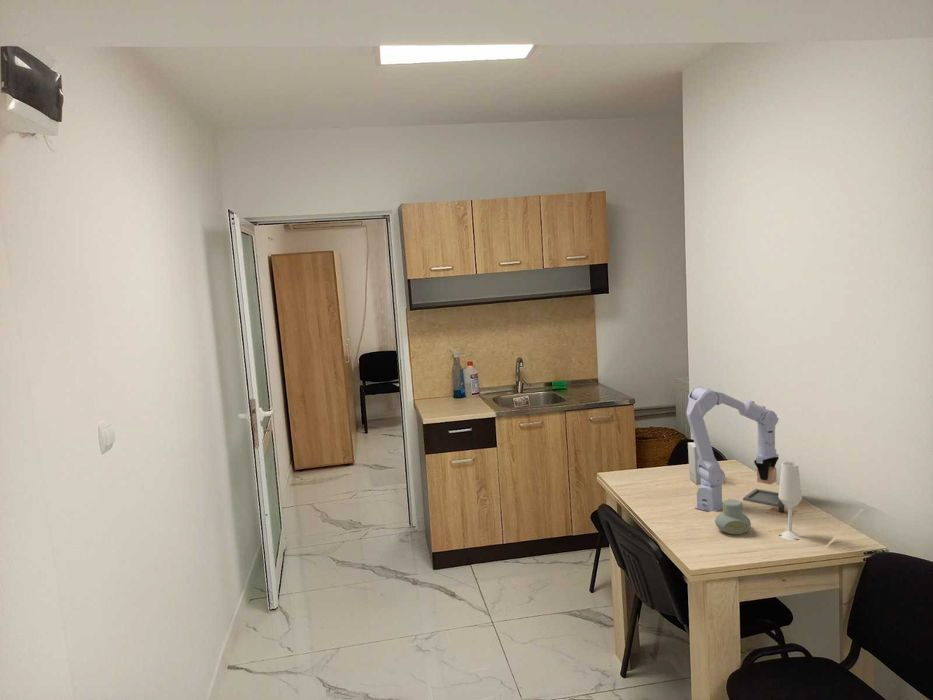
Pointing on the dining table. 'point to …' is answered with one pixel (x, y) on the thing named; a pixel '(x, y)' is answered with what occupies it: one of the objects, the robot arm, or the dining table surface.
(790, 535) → the champagne flute
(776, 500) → the tray
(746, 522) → the air freshener
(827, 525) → the dining table surface
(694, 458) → the skincare box
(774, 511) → the stand
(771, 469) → the brown cube box
